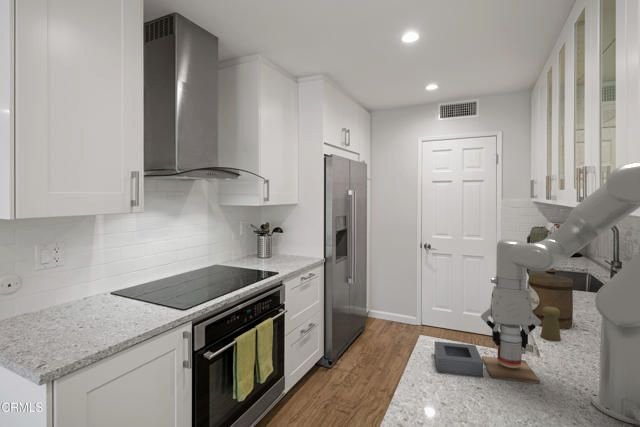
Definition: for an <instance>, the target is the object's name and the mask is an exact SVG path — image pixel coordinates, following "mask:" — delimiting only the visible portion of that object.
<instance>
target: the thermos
mask: <svg viewBox="0 0 640 427" xmlns="http://www.w3.org/2000/svg"><path fill="white" fill-rule="evenodd" d="M548 236H549V233H548V230H547V228H546V226H545V227H544V226H532V227H531V229H530V232H529V235H528V236H527V237H526V243H536V242H540V241H542V240H544V239H545V238H547V237H548ZM545 273H546V271H535V270H531V269H528V276H529V275H531V274H545ZM527 279H528V280H526V288H527V289H529V278H527Z"/></svg>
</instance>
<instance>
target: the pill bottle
mask: <svg viewBox="0 0 640 427" xmlns="http://www.w3.org/2000/svg"><path fill="white" fill-rule="evenodd" d="M499 330H500V331H499V333H500V343H499V346H497V355H496V357H497V360H498V362H499V363H500V364H501V365H503V366H506V367H509V368H518V367H520V366H521V364H522V360H523V359H522V358H523V357H522V354H523V352H522V351H523V347H522V337H521V335H520V331H521V326H520V325H507V324H501V325H500V327H499Z"/></svg>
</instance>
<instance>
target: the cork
mask: <svg viewBox="0 0 640 427" xmlns="http://www.w3.org/2000/svg"><path fill="white" fill-rule="evenodd" d="M542 312H543V315H544V320H543V325H542V326H541V332H540V338H541V339H543V340H546V341H547V342H548V341H550V342H560V341H562V338H561V331H560V330H561V329H559V321H558V318H559V316H560V311H559V309H557V308H555V307H544V308H543V311H542Z"/></svg>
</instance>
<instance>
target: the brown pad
mask: <svg viewBox="0 0 640 427" xmlns="http://www.w3.org/2000/svg"><path fill="white" fill-rule="evenodd" d="M481 359H482V361H483V365H484V366H485V369H486V370H487V372H488V374H489V377H490V378H491V379H495V378H496V379H497V380H504V379H505V381H506V380H507V381H512V380H513V382H521V381H522V382H523V383H530V382H532V383H531V384H539V383H540V384H541V380H540V379H539V377H538V376H537V375H536V373H535V372H534V371H533V369H532V367H531V366H530V365H529V364H528V363H527V361H526V360H524V359H522V364H521V366H520V367H518V368H509V367H506V366H503V365H501V364H500V363H499V362H498V360H497V356H495V357H493V356H486V355H481Z"/></svg>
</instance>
